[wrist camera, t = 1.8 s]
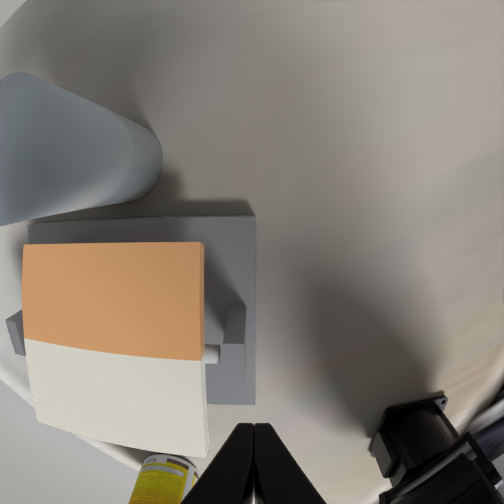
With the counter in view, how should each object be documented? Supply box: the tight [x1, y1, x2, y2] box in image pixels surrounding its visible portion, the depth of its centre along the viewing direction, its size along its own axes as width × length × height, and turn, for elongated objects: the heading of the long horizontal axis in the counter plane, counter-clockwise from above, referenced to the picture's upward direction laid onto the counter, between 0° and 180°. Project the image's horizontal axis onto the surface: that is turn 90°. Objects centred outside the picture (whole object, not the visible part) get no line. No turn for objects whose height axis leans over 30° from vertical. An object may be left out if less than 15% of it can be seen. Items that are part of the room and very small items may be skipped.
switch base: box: [6, 215, 255, 405], centre depth 17 cm, size 16×13×6 cm
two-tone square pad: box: [22, 242, 221, 458], centre depth 14 cm, size 12×11×2 cm
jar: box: [0, 73, 163, 226], centre depth 12 cm, size 5×5×11 cm
